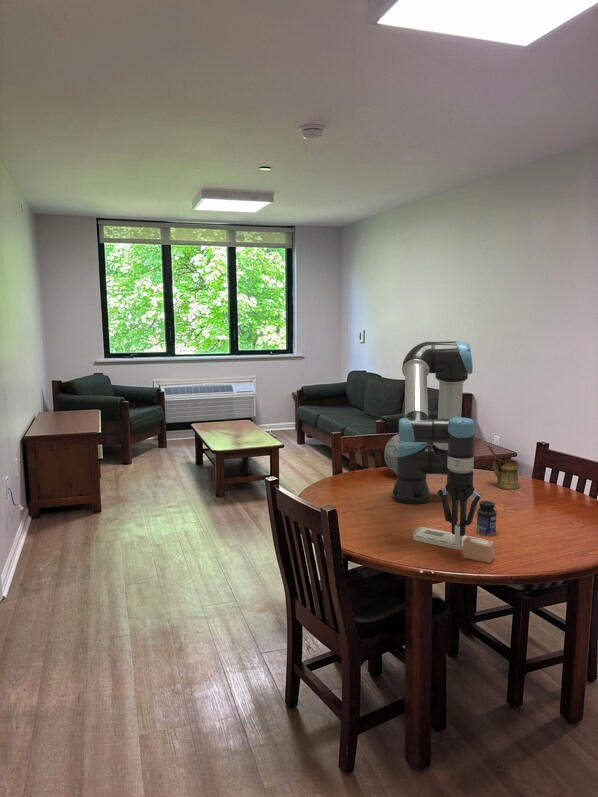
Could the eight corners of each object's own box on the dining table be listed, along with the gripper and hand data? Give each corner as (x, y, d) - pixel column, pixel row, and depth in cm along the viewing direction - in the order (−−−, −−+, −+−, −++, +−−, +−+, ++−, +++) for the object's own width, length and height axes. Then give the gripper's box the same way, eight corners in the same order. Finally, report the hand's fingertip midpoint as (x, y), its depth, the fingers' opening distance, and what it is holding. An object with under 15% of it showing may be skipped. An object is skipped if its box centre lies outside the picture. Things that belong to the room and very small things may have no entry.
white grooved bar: (413, 540, 183) (413, 535, 183) (423, 531, 190) (423, 526, 190) (475, 553, 172) (475, 548, 172) (483, 543, 180) (483, 538, 179)
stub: (462, 557, 169) (463, 541, 169) (467, 552, 173) (467, 536, 172) (489, 563, 165) (490, 546, 164) (494, 557, 169) (494, 541, 168)
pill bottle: (493, 539, 185) (494, 507, 183) (474, 536, 188) (475, 504, 186) (497, 533, 190) (498, 501, 188) (479, 530, 193) (480, 498, 192)
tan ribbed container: (484, 483, 247) (485, 443, 245) (516, 484, 245) (518, 443, 243) (487, 489, 238) (489, 447, 236) (521, 490, 236) (523, 448, 234)
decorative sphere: (376, 472, 266) (376, 431, 263) (412, 468, 273) (412, 427, 271) (398, 483, 248) (399, 439, 245) (436, 478, 255) (437, 435, 252)
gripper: (434, 469, 169) (433, 544, 173) (478, 475, 162) (476, 554, 166) (443, 464, 175) (441, 536, 179) (485, 469, 168) (483, 545, 172)
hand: (458, 545), depth 172 cm, fingers closed
